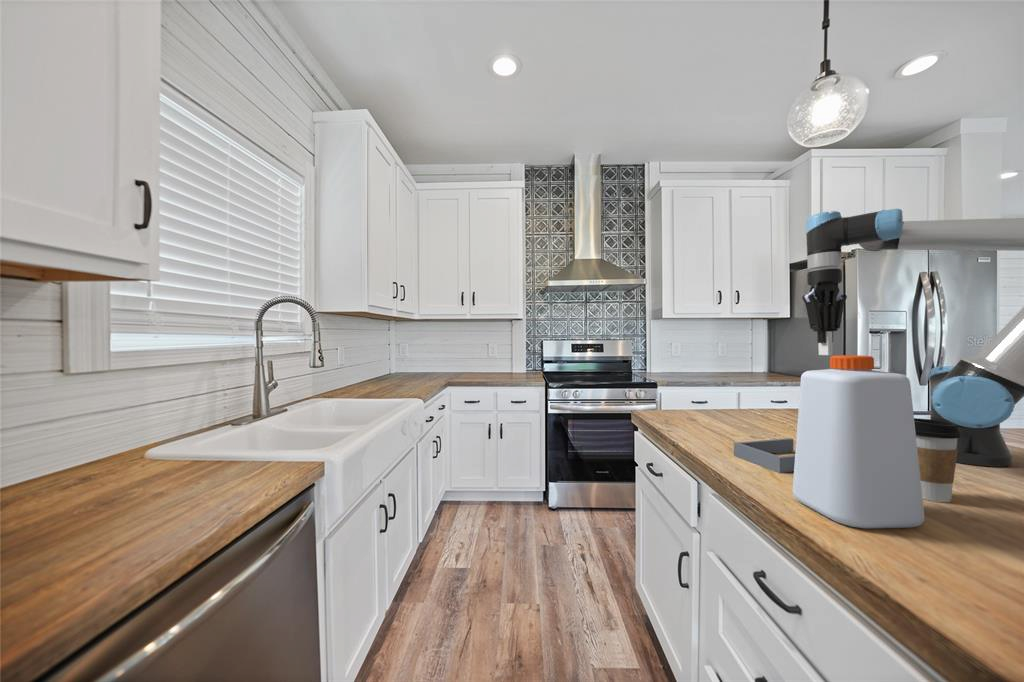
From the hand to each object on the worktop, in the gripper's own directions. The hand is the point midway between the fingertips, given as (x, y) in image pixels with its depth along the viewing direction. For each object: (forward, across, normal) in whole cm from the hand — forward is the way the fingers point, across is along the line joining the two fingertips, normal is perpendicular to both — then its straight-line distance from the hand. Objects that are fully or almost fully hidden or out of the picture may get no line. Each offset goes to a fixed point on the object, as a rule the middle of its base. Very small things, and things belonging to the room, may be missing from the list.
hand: (825, 354), depth 110 cm
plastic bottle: (+27, +34, +32) cm, 54 cm away
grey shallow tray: (+26, +20, +5) cm, 33 cm away
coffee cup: (+27, +13, +30) cm, 43 cm away
